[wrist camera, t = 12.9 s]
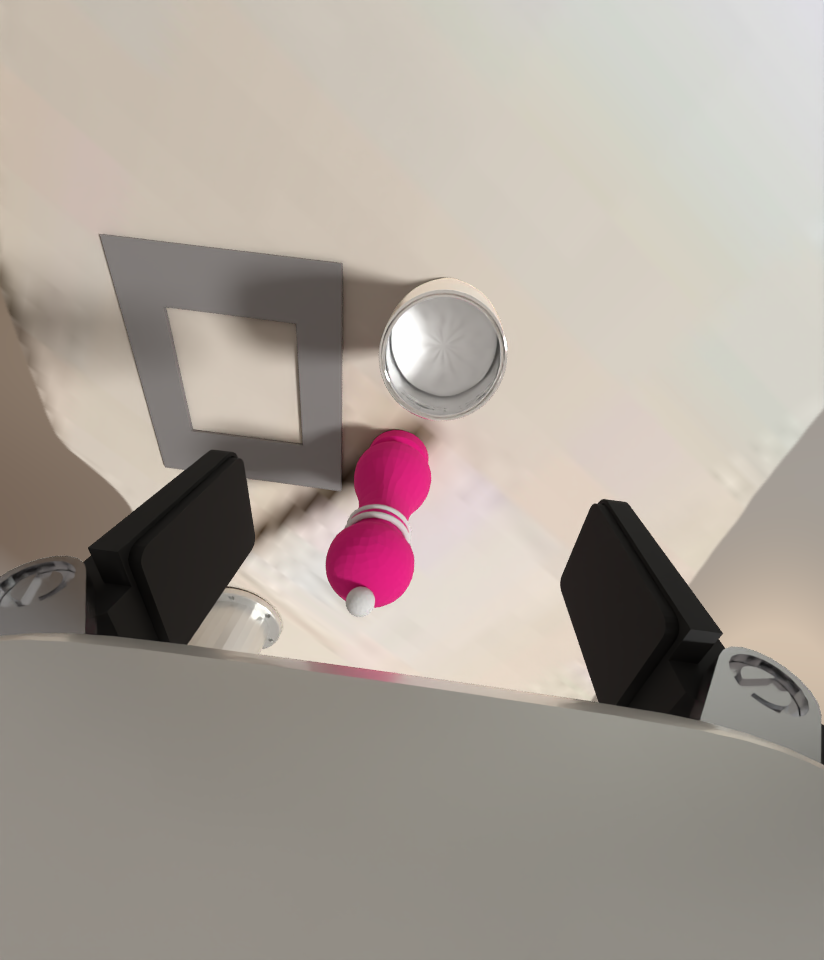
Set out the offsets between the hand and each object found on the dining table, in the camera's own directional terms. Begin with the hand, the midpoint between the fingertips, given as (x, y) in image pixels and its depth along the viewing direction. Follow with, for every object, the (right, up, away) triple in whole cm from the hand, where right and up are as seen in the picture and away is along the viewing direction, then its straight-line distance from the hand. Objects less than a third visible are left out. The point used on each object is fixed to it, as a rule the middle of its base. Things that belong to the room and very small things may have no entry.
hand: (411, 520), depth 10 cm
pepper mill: (-1, +4, +29) cm, 29 cm away
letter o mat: (-17, +11, +26) cm, 33 cm away
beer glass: (+3, +15, +22) cm, 27 cm away
